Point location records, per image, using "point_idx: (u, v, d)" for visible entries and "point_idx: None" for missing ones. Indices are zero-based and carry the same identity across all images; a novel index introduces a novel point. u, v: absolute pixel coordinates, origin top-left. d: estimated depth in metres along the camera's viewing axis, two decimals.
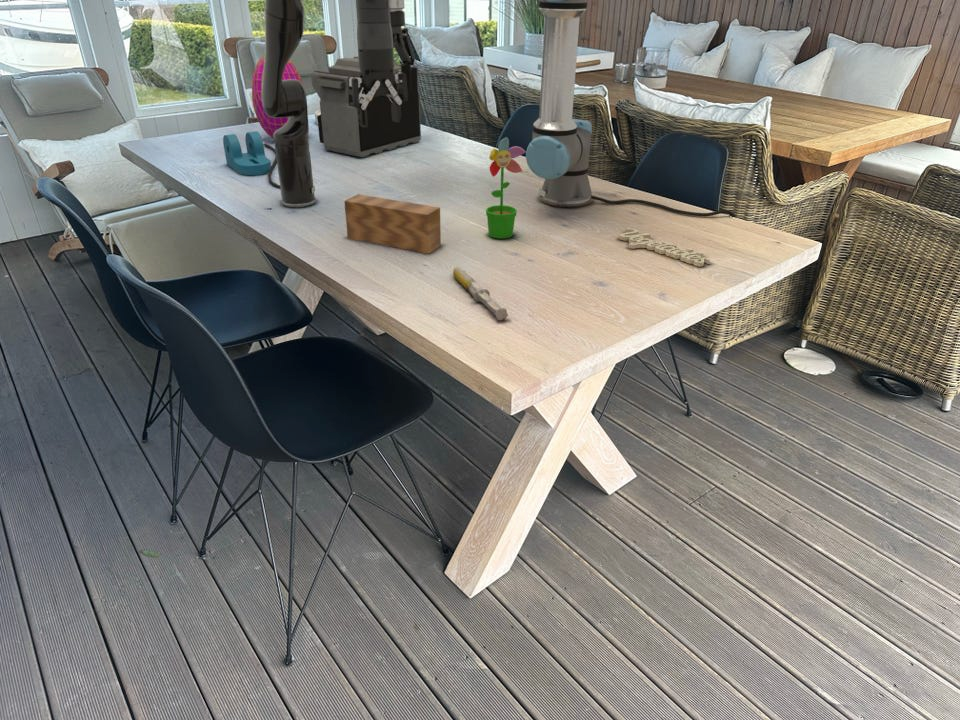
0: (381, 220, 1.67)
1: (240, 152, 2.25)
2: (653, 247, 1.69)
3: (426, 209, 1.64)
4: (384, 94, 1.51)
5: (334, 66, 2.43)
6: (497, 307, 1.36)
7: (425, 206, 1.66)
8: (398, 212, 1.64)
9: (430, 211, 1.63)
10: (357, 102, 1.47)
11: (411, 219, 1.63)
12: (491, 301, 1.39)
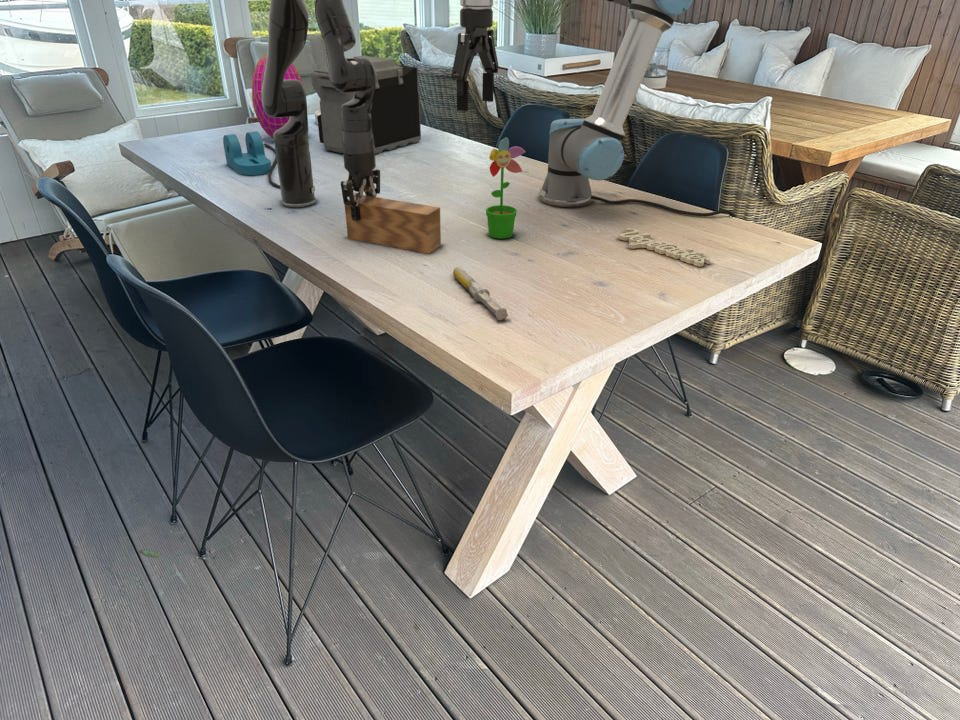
0: (381, 220, 1.67)
1: (240, 152, 2.25)
2: (653, 247, 1.69)
3: (426, 209, 1.64)
4: (367, 188, 1.70)
5: None
6: (497, 307, 1.36)
7: (425, 206, 1.66)
8: (398, 212, 1.64)
9: (430, 211, 1.63)
10: (354, 201, 1.65)
11: (411, 219, 1.63)
12: (491, 301, 1.39)
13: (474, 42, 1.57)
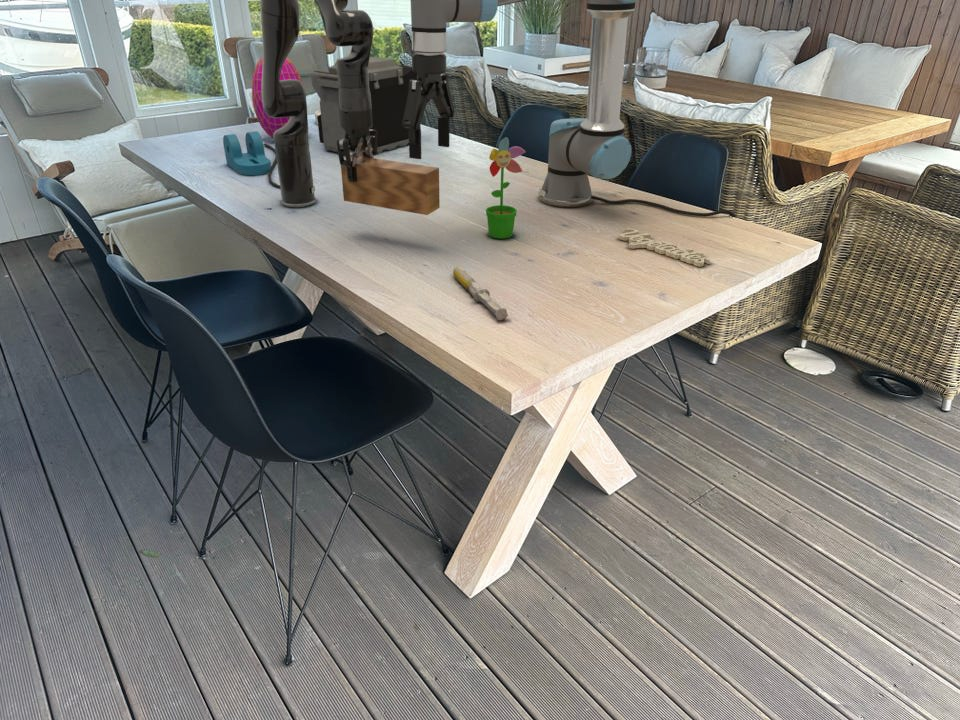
0: (378, 181, 1.63)
1: (240, 152, 2.25)
2: (653, 247, 1.69)
3: (425, 169, 1.60)
4: (364, 149, 1.65)
5: (334, 66, 2.43)
6: (497, 307, 1.36)
7: (424, 166, 1.61)
8: (396, 172, 1.59)
9: (429, 171, 1.58)
10: (350, 161, 1.61)
11: (409, 179, 1.59)
12: (491, 301, 1.39)
13: (426, 89, 1.50)
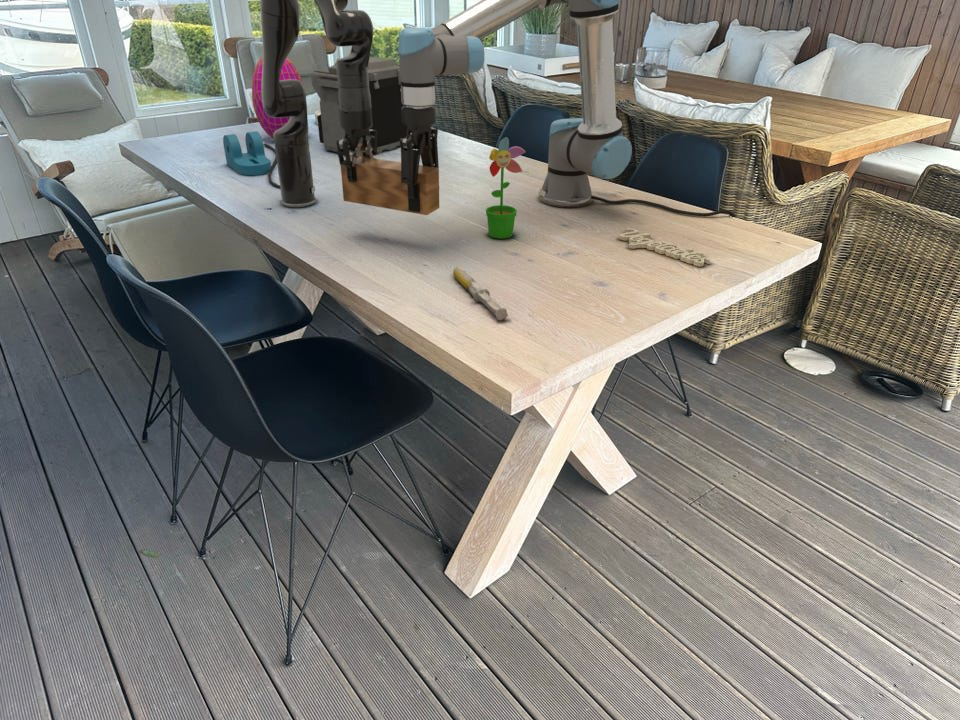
0: (378, 181, 1.62)
1: (240, 152, 2.25)
2: (653, 247, 1.69)
3: (424, 169, 1.59)
4: (364, 149, 1.65)
5: (334, 66, 2.43)
6: (497, 307, 1.36)
7: (423, 166, 1.61)
8: (396, 172, 1.59)
9: (428, 171, 1.58)
10: (350, 161, 1.61)
11: None
12: (491, 301, 1.39)
13: (416, 141, 1.53)
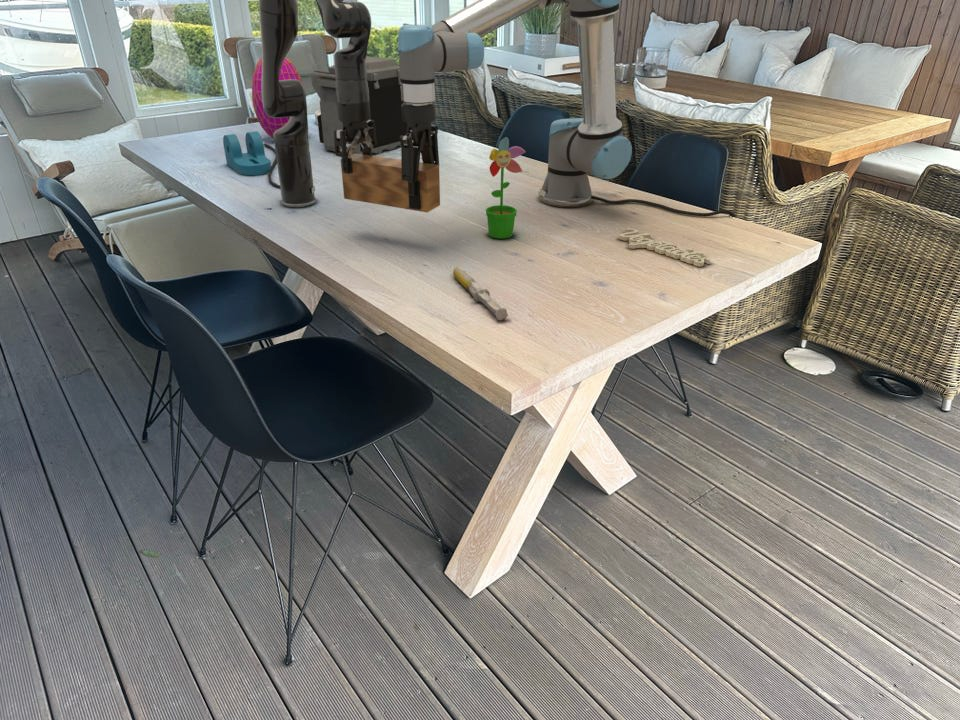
0: (378, 178, 1.62)
1: (240, 152, 2.25)
2: (653, 247, 1.69)
3: (425, 166, 1.59)
4: (361, 141, 1.64)
5: (334, 66, 2.43)
6: (497, 307, 1.36)
7: (424, 164, 1.61)
8: (396, 170, 1.59)
9: (429, 168, 1.58)
10: (345, 152, 1.59)
11: None
12: (491, 301, 1.39)
13: (416, 138, 1.53)
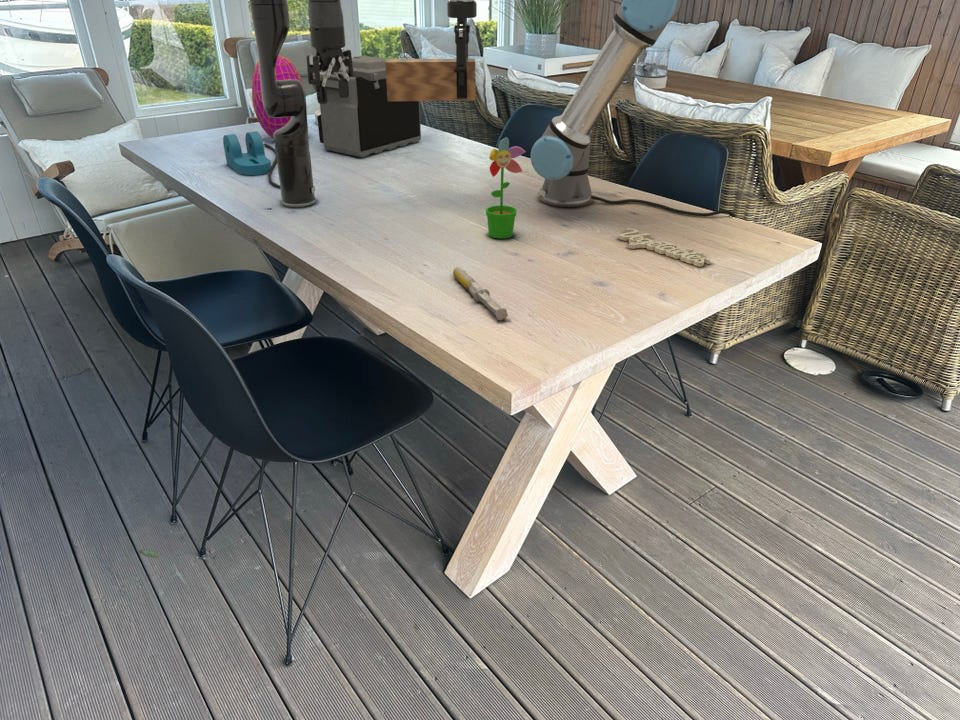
0: (426, 75, 1.81)
1: (240, 152, 2.25)
2: (653, 247, 1.69)
3: (466, 59, 1.82)
4: (337, 71, 1.58)
5: None
6: (497, 307, 1.36)
7: None
8: (445, 64, 1.79)
9: (472, 60, 1.82)
10: (319, 79, 1.53)
11: None
12: (491, 301, 1.39)
13: (465, 31, 1.76)
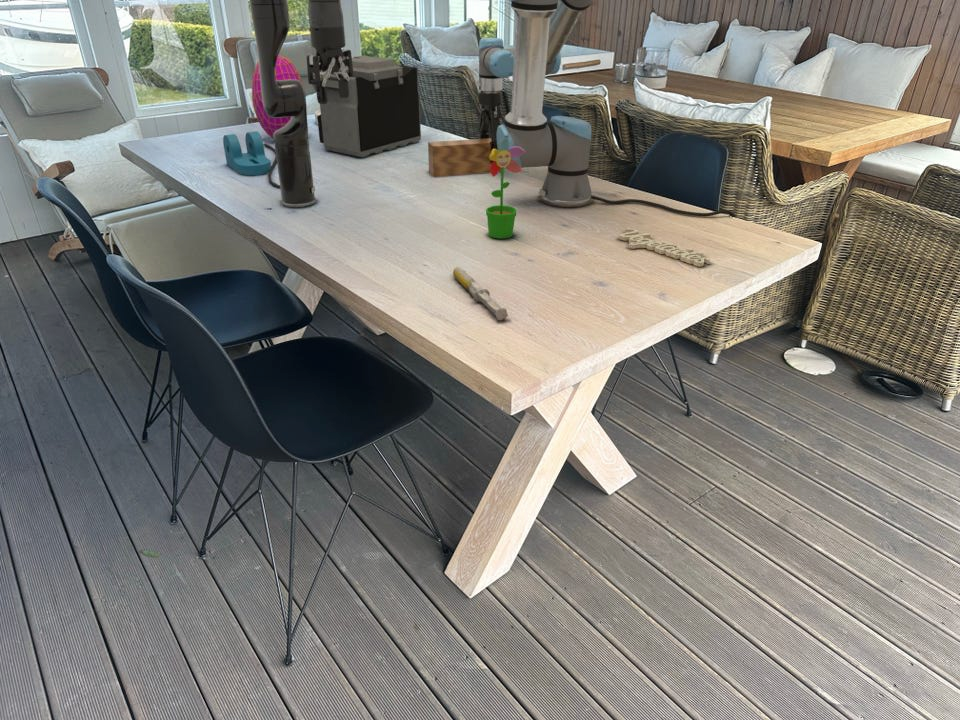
0: (464, 155, 2.23)
1: (240, 152, 2.25)
2: (653, 247, 1.69)
3: None
4: (337, 71, 1.58)
5: None
6: (497, 307, 1.36)
7: (487, 139, 2.28)
8: (479, 145, 2.23)
9: None
10: (319, 79, 1.53)
11: (489, 148, 2.24)
12: (491, 301, 1.39)
13: None
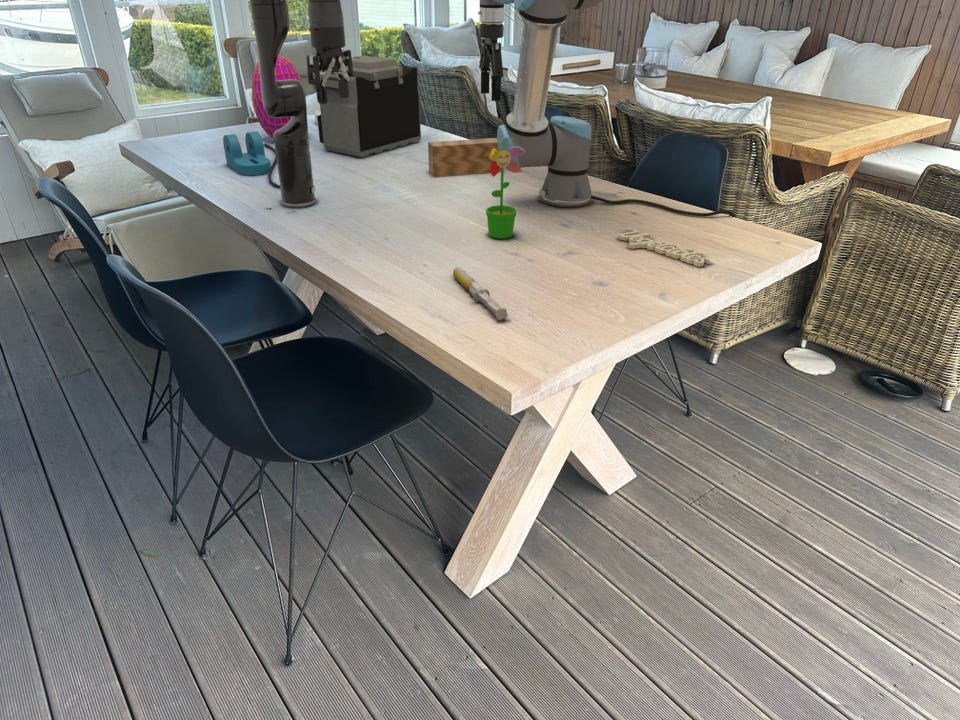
0: (464, 155, 2.23)
1: (240, 152, 2.25)
2: (653, 247, 1.69)
3: (492, 140, 2.27)
4: (337, 71, 1.58)
5: None
6: (497, 307, 1.36)
7: (487, 139, 2.28)
8: (479, 145, 2.23)
9: None
10: (319, 79, 1.53)
11: (489, 148, 2.24)
12: (491, 301, 1.39)
13: None
